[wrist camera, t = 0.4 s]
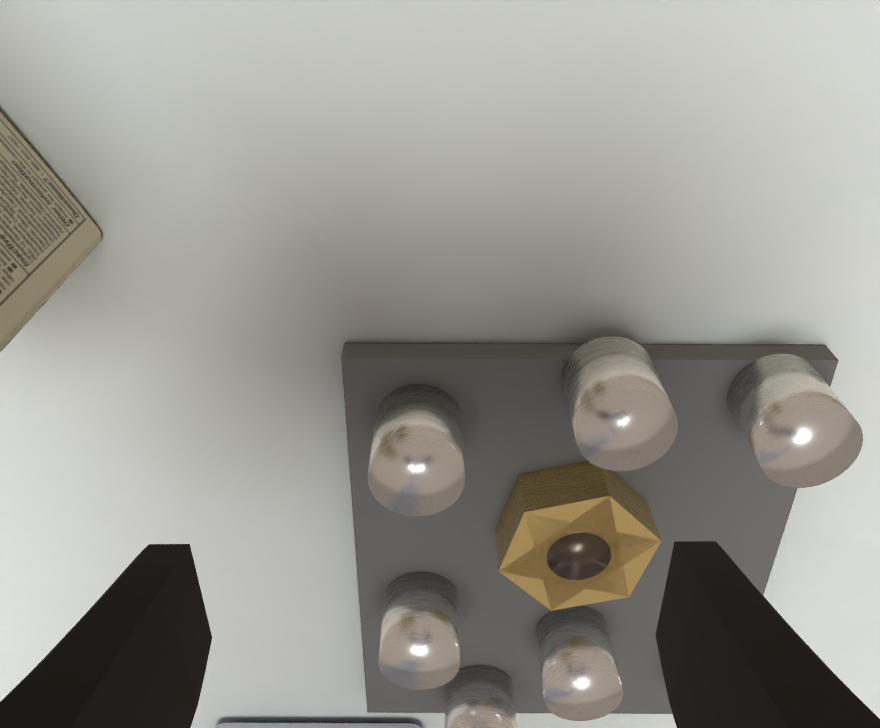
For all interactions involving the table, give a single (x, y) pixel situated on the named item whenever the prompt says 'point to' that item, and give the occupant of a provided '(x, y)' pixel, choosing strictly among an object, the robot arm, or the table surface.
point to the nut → (575, 536)
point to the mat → (541, 447)
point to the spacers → (606, 446)
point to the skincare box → (34, 233)
